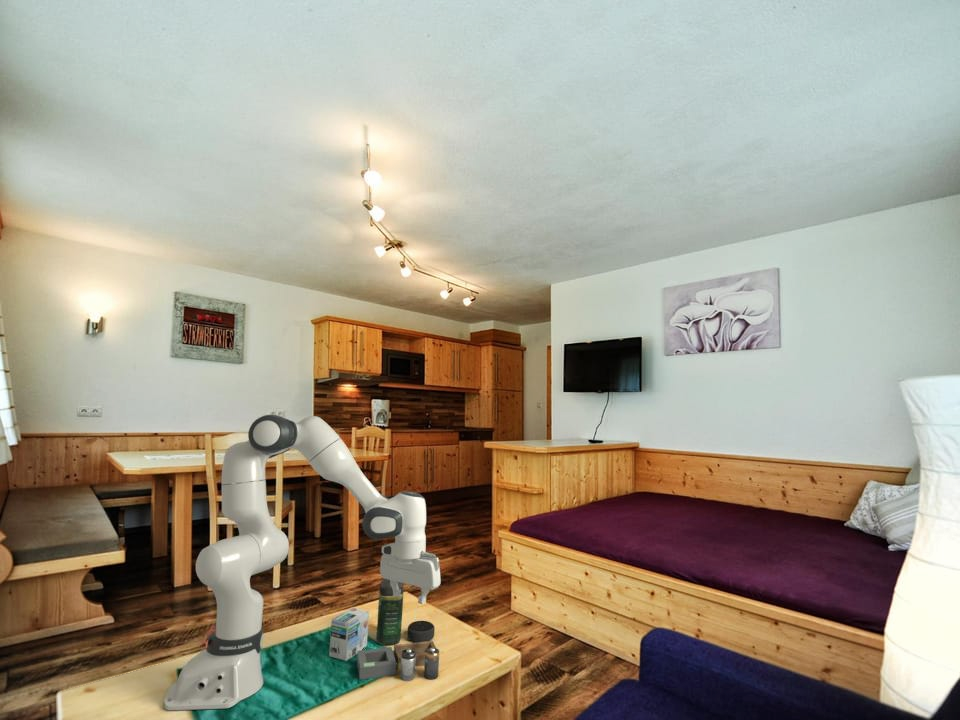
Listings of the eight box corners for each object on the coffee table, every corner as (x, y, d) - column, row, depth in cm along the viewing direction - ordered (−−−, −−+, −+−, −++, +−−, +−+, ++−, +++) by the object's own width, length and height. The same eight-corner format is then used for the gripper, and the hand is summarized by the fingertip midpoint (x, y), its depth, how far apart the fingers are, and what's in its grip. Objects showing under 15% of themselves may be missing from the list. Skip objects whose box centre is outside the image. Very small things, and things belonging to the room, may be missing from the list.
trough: (397, 668, 139) (398, 657, 139) (393, 655, 146) (394, 645, 147) (438, 663, 142) (438, 653, 143) (432, 651, 150) (432, 640, 150)
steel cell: (401, 682, 132) (403, 654, 133) (399, 674, 136) (400, 647, 137) (416, 680, 133) (417, 652, 134) (413, 672, 137) (414, 645, 138)
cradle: (359, 679, 132) (360, 667, 133) (356, 661, 142) (357, 650, 142) (395, 674, 136) (396, 662, 136) (390, 657, 145) (391, 646, 145)
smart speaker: (413, 646, 153) (413, 633, 153) (403, 635, 160) (403, 622, 161) (438, 641, 157) (439, 628, 157) (427, 630, 165) (428, 618, 165)
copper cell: (425, 680, 133) (426, 653, 134) (422, 673, 137) (423, 646, 138) (439, 678, 134) (440, 651, 135) (436, 671, 138) (437, 644, 139)
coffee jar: (402, 645, 153) (405, 584, 155) (376, 647, 151) (380, 585, 153) (399, 632, 162) (402, 574, 164) (375, 633, 160) (379, 575, 163)
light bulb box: (346, 661, 142) (349, 623, 143) (328, 656, 144) (330, 618, 145) (367, 646, 152) (369, 610, 153) (350, 641, 154) (352, 606, 155)
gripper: (445, 552, 136) (444, 603, 134) (392, 542, 147) (390, 589, 145) (431, 557, 131) (430, 611, 129) (377, 546, 142) (375, 595, 140)
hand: (409, 599), depth 137 cm, fingers open, 8 cm apart
